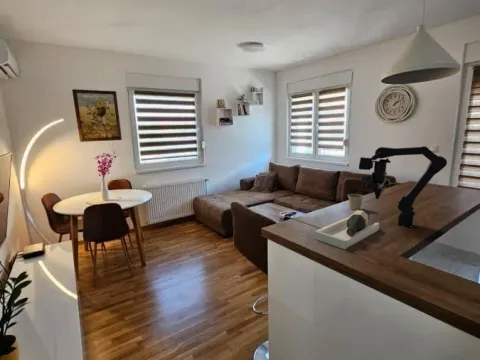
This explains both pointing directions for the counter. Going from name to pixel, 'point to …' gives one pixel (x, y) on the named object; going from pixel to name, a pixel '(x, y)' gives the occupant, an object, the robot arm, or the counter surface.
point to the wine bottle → (357, 221)
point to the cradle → (343, 234)
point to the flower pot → (355, 201)
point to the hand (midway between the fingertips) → (377, 199)
